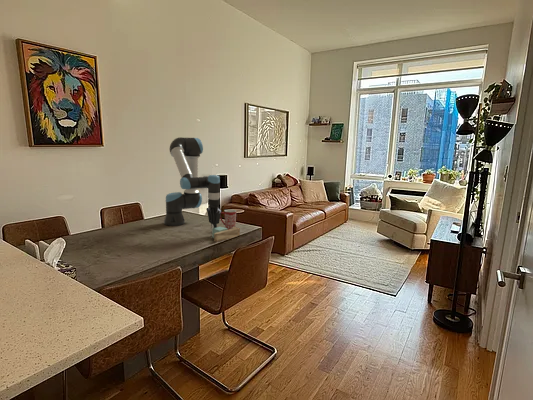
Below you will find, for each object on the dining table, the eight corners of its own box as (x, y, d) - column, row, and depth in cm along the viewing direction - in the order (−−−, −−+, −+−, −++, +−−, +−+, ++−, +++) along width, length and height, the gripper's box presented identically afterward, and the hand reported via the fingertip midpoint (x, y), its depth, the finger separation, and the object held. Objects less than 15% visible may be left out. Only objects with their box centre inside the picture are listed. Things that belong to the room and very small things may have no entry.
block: (212, 237, 208) (212, 228, 207) (220, 235, 214) (220, 226, 213) (219, 239, 204) (219, 230, 203) (227, 237, 209) (227, 228, 208)
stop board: (212, 240, 202) (212, 232, 201) (234, 234, 217) (234, 226, 216) (217, 242, 199) (217, 234, 198) (239, 235, 214) (239, 228, 213)
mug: (238, 227, 233) (238, 209, 231) (233, 230, 225) (233, 212, 222) (222, 226, 237) (222, 208, 235) (217, 229, 228) (217, 210, 226)
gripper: (203, 198, 209) (203, 232, 213) (216, 200, 201) (216, 236, 205) (211, 196, 215) (211, 230, 219) (224, 199, 207) (224, 234, 211)
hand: (214, 233), depth 212 cm, fingers closed
